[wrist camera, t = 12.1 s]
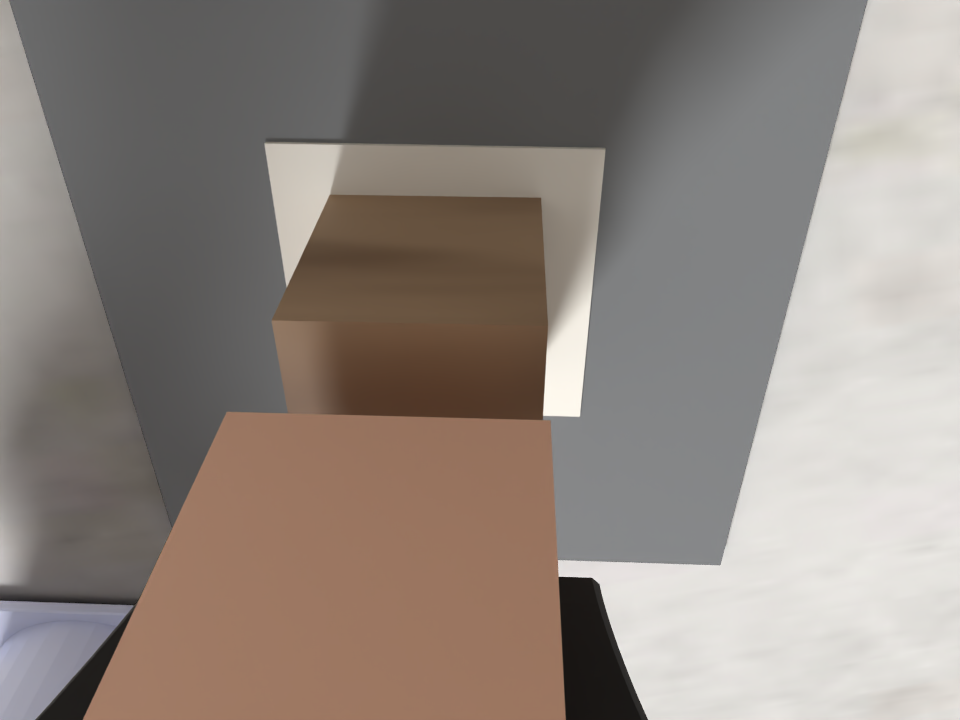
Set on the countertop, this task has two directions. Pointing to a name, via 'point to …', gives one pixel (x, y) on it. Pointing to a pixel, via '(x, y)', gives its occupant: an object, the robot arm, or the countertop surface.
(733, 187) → the grey mat
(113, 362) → the countertop surface
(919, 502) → the countertop surface
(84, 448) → the countertop surface
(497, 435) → the terracotta block
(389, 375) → the walnut block
